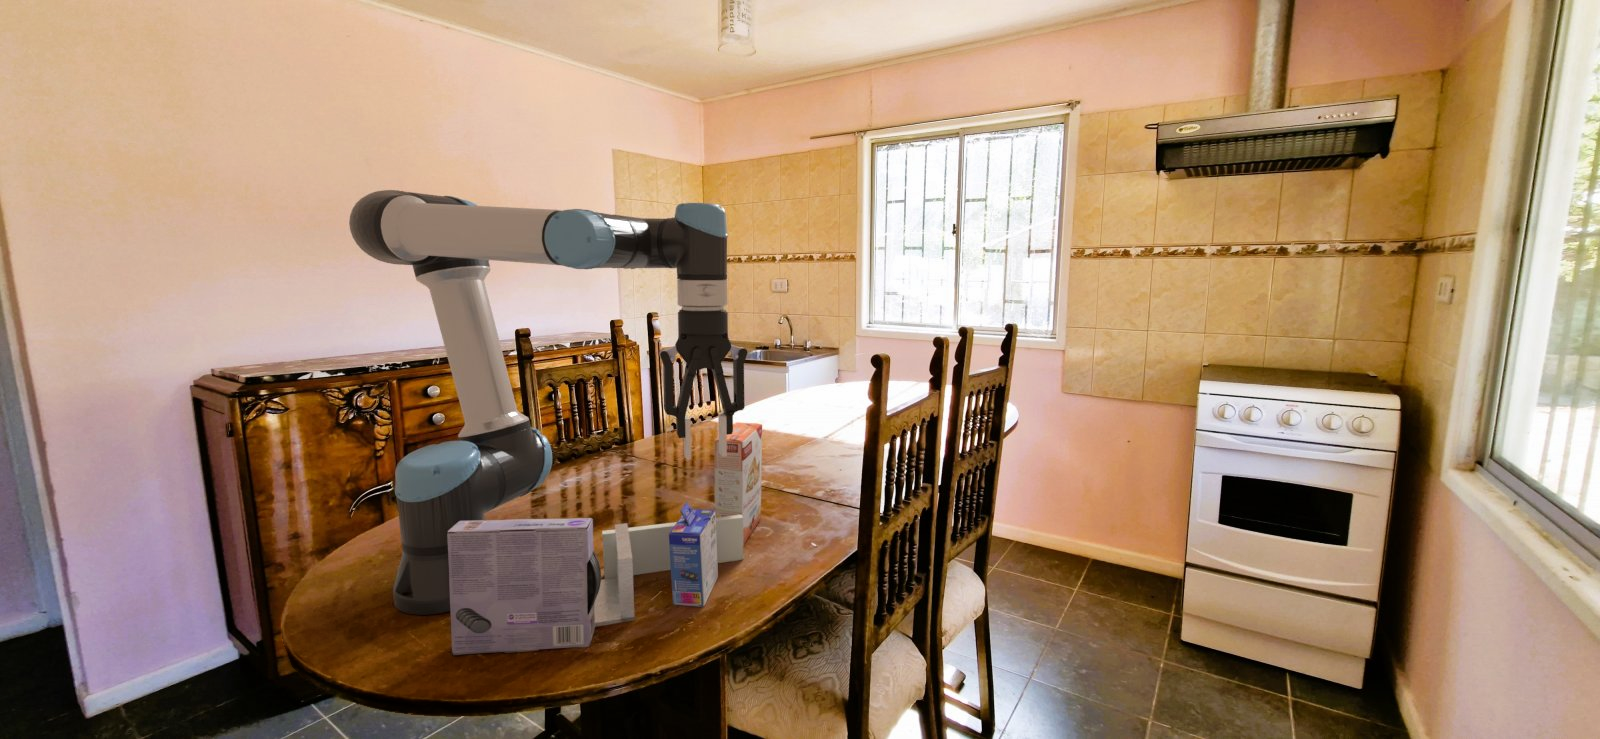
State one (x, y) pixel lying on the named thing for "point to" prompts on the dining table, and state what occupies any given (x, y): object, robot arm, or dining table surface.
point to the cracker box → (740, 476)
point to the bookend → (617, 585)
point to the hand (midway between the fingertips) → (705, 455)
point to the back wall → (655, 550)
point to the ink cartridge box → (693, 556)
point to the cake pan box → (522, 584)
